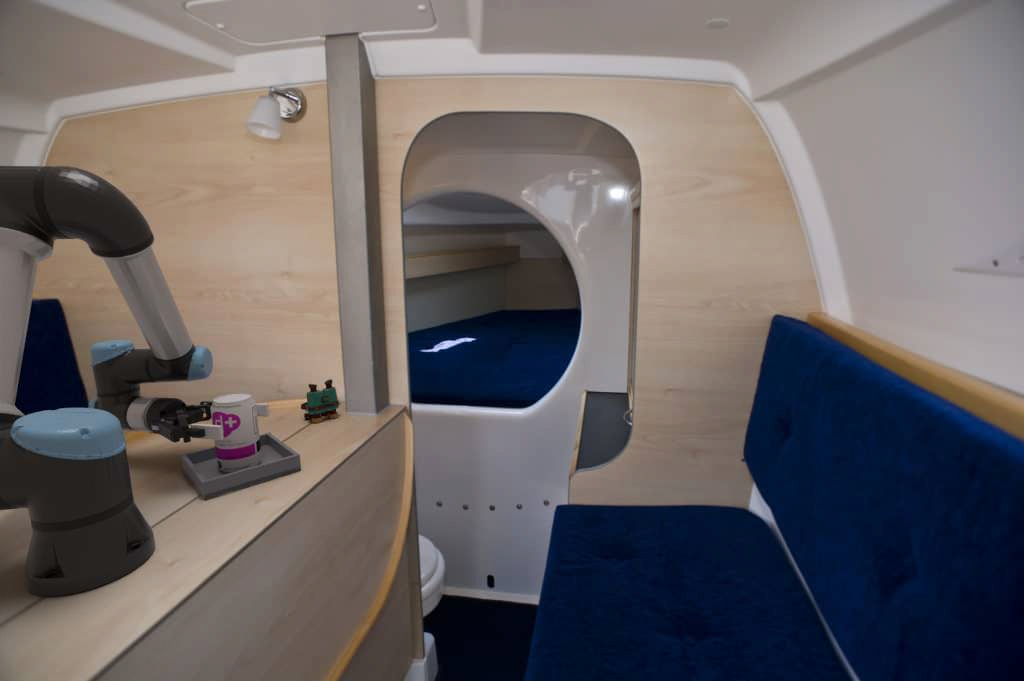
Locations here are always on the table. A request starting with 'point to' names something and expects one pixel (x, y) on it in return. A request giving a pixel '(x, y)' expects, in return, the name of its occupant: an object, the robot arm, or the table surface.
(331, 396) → the binoculars
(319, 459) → the table surface
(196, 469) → the tray
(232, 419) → the supplement can
